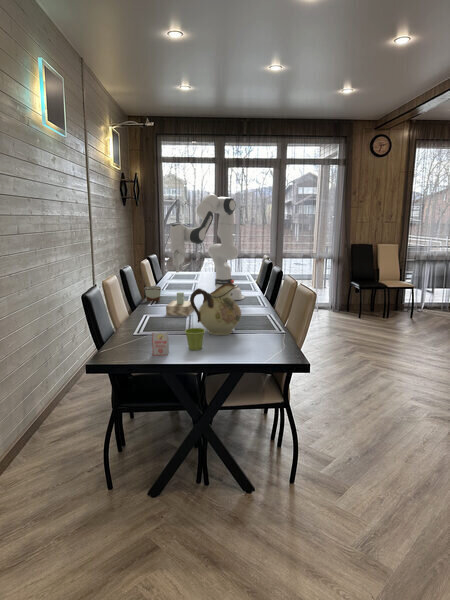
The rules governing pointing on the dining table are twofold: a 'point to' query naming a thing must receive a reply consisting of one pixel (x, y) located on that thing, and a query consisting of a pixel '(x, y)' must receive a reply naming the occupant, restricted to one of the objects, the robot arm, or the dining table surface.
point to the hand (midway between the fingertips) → (179, 271)
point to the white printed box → (160, 344)
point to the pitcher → (218, 310)
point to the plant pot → (195, 338)
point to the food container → (152, 293)
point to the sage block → (180, 297)
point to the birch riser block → (179, 308)
